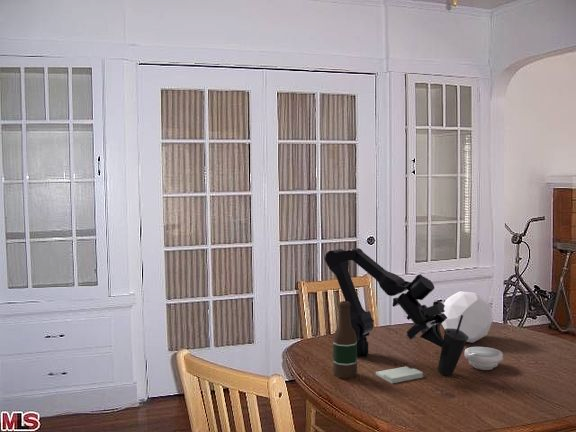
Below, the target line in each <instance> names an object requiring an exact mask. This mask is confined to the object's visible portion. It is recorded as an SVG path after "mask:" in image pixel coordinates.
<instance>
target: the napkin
mask: <svg viewBox="0 0 576 432" xmlns="http://www.w3.org/2000/svg"><path fill="white" fill-rule="evenodd" d="M375 375H376V376H378V377H379V378H381V379H382V380H384V381H387V382H388V383H390V384H396V383H400V382H405V381H411V380H416V379H420V378H421V379H422V378H424V373H423V371H421V370H418V369H417V368H410V367H408V366H401V367H396V368H391V369H385V370H384V369H383V370H380V371H375Z"/></svg>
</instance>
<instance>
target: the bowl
mask: <svg viewBox="0 0 576 432" xmlns="http://www.w3.org/2000/svg"><path fill="white" fill-rule="evenodd" d="M464 349H465V350H464V358H465V359H467V360H468V363H469V365H470V366H472V367H473V368H475V369H477V370H481V371H491V370H493V369H494V368H496V367H498V366H499V363H501V362H502V361H503V358H504V357H503V356H504V353H503V352H502V351H501V350H499V349H496V348H493V347H486V346H470V347H468V348H464Z"/></svg>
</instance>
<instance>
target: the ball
mask: <svg viewBox="0 0 576 432" xmlns="http://www.w3.org/2000/svg"><path fill="white" fill-rule="evenodd" d="M443 304H444V305H445V307H444V311H445V312H443V313H444V314H445V315H446V317H447V319H446V320H445V321H444V322H442V323H441V325H442V327H443V329H444V330H445V329H447V328H454V329H457V327H458V324H459V321H460V317H461V315H463V318H462V322H461V325H460V328H459V330H461V331H462V332H464V333H465V334H466V335H468V337H469V339H468V340H467V341H466V343H475V342H477V341H478V340H480V339H482V338H484V337H486V336H487V335H488V333H489V331H490V329H491V326H492V323H493V320H494V318H493V311H492V309H491V307H490V303H488V302H487V301H486V300H485V299H484V298H482V297H481V296H480V295H479V294H478V293H477V292H471V291H462V290H460V291H457V292H456V293H453V295H450V296H448V297H447V298H446V299H445V301H444V303H443Z"/></svg>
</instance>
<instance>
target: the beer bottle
mask: <svg viewBox="0 0 576 432" xmlns="http://www.w3.org/2000/svg"><path fill="white" fill-rule="evenodd" d="M338 306H339V313H338V315H339V316H338V318H339V319H338V325H337V328H336V329H335V331H334V334H333V341H332V342H333V343H332V358H333V359H332V361H333V362H332V364H333V365H332V367H333V376H335V377H337V378H339V379H344V380H345V379H347V380H348V379H353V378H355V377H356V376H357V373H358V357H357V337H356V333H355V331H354V329H353V328H352V326H351V320H350V302H348V301H345V300H342V301H339V304H338Z"/></svg>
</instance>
